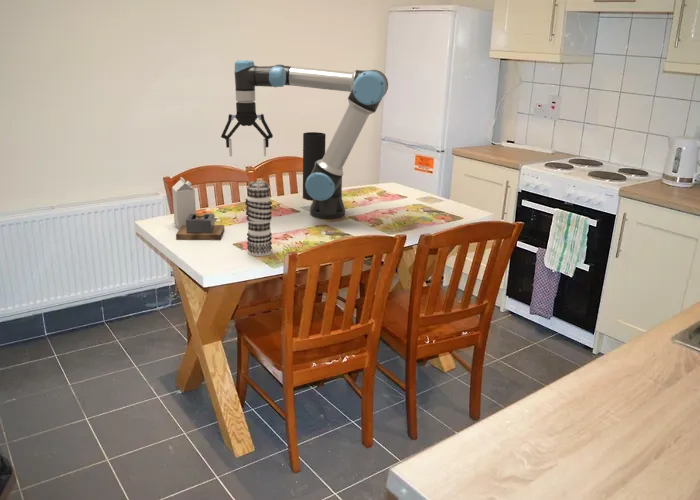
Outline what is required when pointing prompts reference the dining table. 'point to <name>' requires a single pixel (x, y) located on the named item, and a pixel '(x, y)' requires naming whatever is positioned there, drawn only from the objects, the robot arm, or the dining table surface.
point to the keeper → (214, 235)
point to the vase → (311, 155)
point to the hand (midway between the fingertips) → (247, 155)
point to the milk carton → (183, 201)
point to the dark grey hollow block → (200, 224)
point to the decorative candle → (259, 218)
